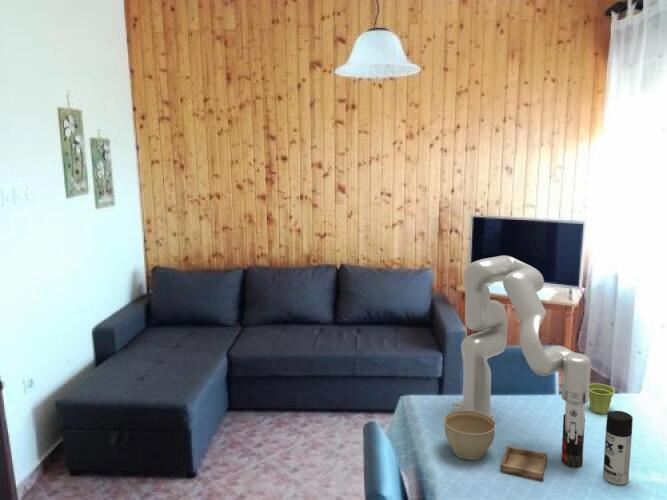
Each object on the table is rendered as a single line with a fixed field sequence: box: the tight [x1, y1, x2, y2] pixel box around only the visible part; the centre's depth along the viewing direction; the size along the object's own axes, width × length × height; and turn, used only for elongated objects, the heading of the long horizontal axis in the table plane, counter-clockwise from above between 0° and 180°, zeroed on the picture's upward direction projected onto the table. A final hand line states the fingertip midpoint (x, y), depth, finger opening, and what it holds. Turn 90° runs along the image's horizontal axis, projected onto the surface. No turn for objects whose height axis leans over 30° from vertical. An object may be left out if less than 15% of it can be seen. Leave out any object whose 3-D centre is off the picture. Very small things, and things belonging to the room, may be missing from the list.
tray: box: [500, 445, 548, 482], centre depth 166 cm, size 12×12×2 cm
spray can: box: [602, 410, 634, 486], centre depth 157 cm, size 7×7×20 cm
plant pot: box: [588, 383, 616, 415], centre depth 199 cm, size 9×9×9 cm
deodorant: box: [561, 413, 586, 469], centre depth 166 cm, size 6×6×15 cm
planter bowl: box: [443, 410, 497, 461], centre depth 174 cm, size 16×16×11 cm
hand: (572, 449), depth 166 cm, fingers closed on deodorant, 5 cm apart
